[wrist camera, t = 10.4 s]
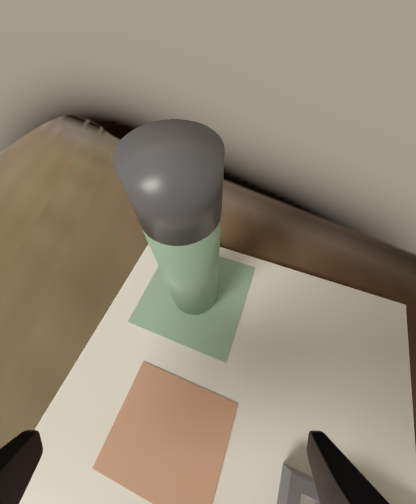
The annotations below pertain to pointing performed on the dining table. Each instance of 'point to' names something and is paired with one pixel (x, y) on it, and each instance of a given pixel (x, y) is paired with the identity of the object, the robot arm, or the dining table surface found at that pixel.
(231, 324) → the white flat board
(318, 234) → the dining table surface
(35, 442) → the robot arm
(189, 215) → the marker
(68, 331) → the dining table surface
